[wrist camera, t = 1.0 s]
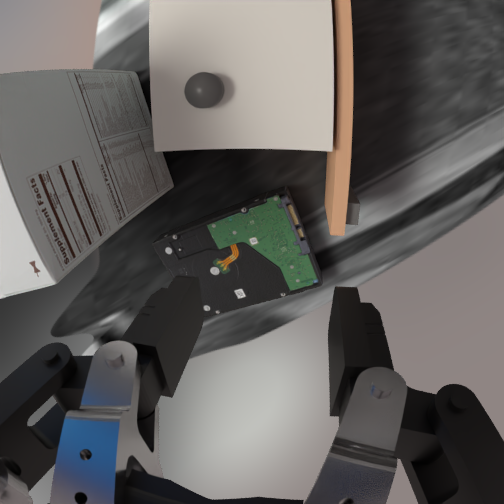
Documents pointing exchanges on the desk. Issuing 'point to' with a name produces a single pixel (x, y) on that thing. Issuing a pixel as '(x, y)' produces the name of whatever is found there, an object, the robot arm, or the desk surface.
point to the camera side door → (341, 126)
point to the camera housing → (241, 74)
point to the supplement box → (70, 169)
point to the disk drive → (244, 253)
